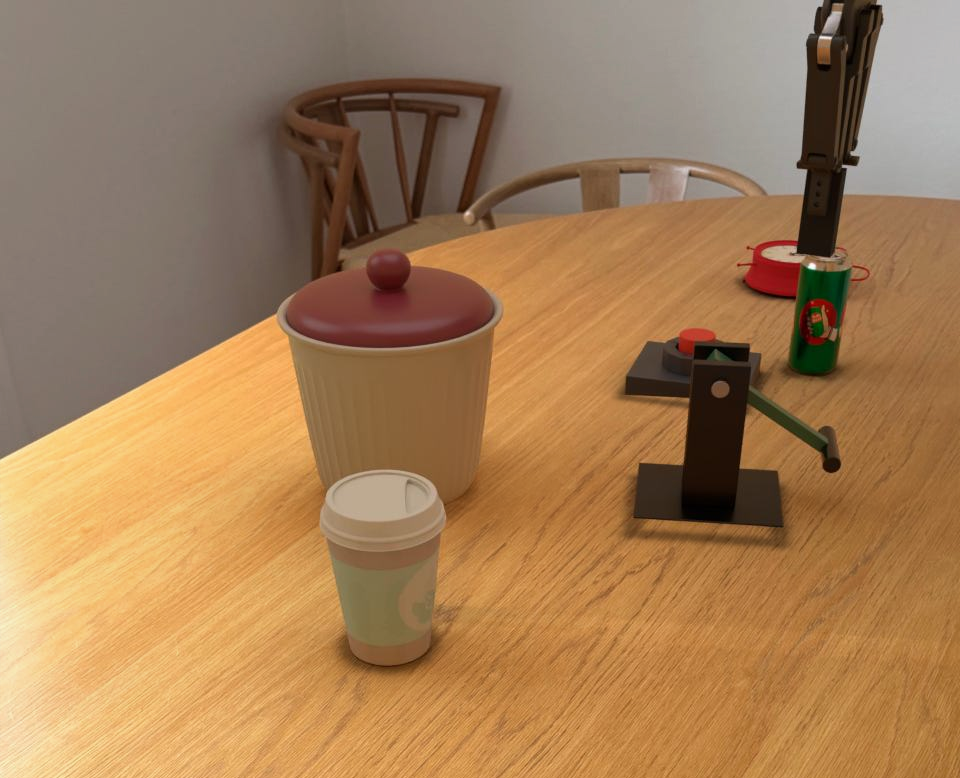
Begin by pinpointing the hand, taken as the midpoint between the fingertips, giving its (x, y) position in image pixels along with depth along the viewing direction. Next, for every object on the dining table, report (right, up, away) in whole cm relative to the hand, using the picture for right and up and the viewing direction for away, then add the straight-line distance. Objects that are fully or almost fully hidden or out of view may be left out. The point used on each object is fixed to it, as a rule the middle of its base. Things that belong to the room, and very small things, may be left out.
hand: (815, 252), depth 100 cm
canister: (-34, -18, +10) cm, 40 cm away
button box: (-5, -5, +28) cm, 29 cm away
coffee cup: (-33, -31, -10) cm, 47 cm away
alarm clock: (+13, +12, +53) cm, 56 cm away
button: (-5, -2, +26) cm, 27 cm away
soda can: (+8, -3, +32) cm, 33 cm away
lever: (-4, -13, +1) cm, 14 cm away
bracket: (-8, -20, +6) cm, 22 cm away
